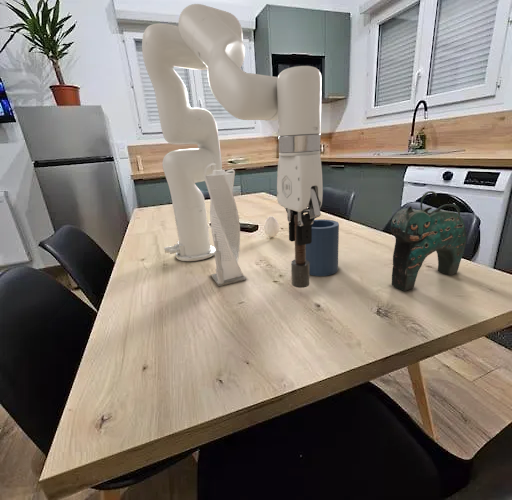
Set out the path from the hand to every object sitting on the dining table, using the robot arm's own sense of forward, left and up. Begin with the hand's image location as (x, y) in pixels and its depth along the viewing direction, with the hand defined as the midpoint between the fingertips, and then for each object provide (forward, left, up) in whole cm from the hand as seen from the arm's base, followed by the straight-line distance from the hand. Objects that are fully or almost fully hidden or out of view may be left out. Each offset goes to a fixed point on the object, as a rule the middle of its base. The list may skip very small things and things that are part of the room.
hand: (300, 241), depth 60 cm
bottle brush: (0, 0, -10) cm, 10 cm away
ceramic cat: (+27, -7, -12) cm, 31 cm away
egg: (+13, +43, -12) cm, 46 cm away
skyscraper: (-11, +18, -12) cm, 24 cm away
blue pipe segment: (+11, +10, -12) cm, 19 cm away
